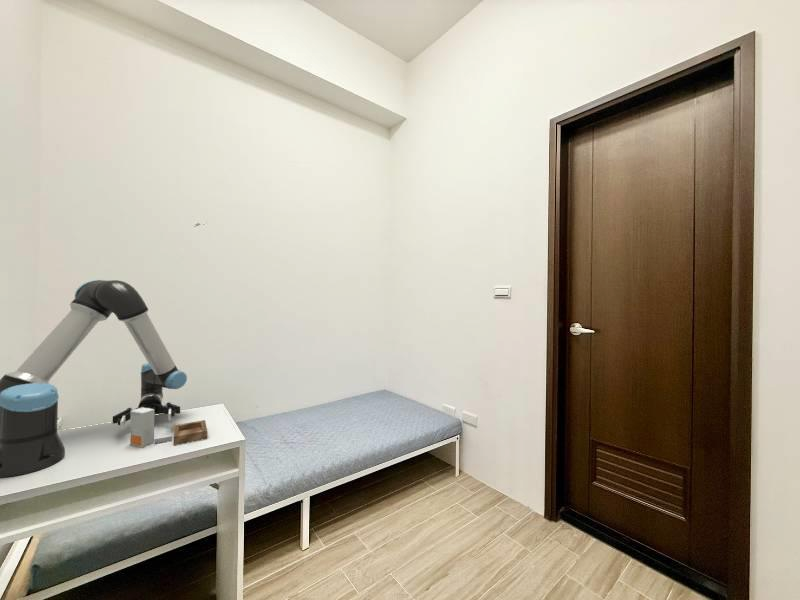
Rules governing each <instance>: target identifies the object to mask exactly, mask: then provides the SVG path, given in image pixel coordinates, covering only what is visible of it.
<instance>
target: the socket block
mask: <svg viewBox="0 0 800 600" xmlns="http://www.w3.org/2000/svg"><path fill="white" fill-rule="evenodd" d="M206 438H207V439H208V429H207V423H206V419H203V420H197V421H191V422H186V423H180V424H174V426H173V440H172V442H173V445H174V446H177V445H176V444H179V445H183V444H182V443H184V444H188V443H187V442H189V443H193V442H192V441H194V442H198V441H197V440H199V441H202V440H201V439H204V440H207V439H206Z"/></svg>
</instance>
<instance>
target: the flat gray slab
mask: <svg viewBox="0 0 800 600" xmlns="http://www.w3.org/2000/svg"><path fill="white" fill-rule="evenodd" d="M167 441H169V442H173V436H171V435H170V436H165V437H160V438H154V443H153V444H154V445H159V444H162V443H163V442H164V443H168V442H167ZM158 443H159V444H158Z"/></svg>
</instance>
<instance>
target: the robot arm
mask: <svg viewBox="0 0 800 600" xmlns="http://www.w3.org/2000/svg"><path fill="white" fill-rule="evenodd" d="M146 304H147V303H146V302H145V301H144V299H143V298H142V296H141V295H140V293H139V291H137V290H136V289H135V288H134V287H133V285H131V284H129V283H128V282H125V281H122V280H117V279H116V280H115V279H113V280H106V279H105V280H103V279H98V280H97V279H96V280H95V279H94V280H91V281H88V282H85V283H83V284H81V285H79V287H78V288H77V289H76V290H75V294H74V299H73V300H72V301H71V302H70V304H69V305H70V311H69V312H68V313H67V314H66V315H65V317H63V319H62V320H60V321H59V323H58V325H56V326H55V328H54V329H52V330H51V332H49V334H48V335H47V336H46V338H44V340H43V341H41V343H39V345H38V346H37V347H36V349H34V350H33V352H32V353H31V354H30V355H29V356H28V357H27V359H26V360H25V361H24V362H23V363H22V364H21V365H20V366H19V367H18V368H17V369H16V370H15V371H12V372H8V373H5V374H4V375H3V376H2V377H1V378H0V478H8V477H9V478H10V477H17V476H20V475H26V474H30V473H33V472H36V471H39V470H43V469H45V468H48V467H51V466H52V465H55V464H57V463H59V462H60V461H62V460H63V459H64V458H65V456H66V447H65V446H64V444H63V442H62V440H61V438H60V435H59V433H58V413H59V412H58V411H59V408H58V406H59V394H58V388H57V387H56V386H55V385H53V384H51V383H49V381H50V380H51V379H52V378H53V377H54V375H55V374H56V373H57V371H59V369H60V368H61V367H62V366H63V365H64V364H65V362H66V361H67V360H68V359H69V357H70V356H71V355H72V353H74V352H75V350H76V349H77V348H78V347H79V346H80V344H81V343H82V342H83V341H84V340H85V339H86V337H87V336H88V335H89V334H90V333H91V331H92V330H93V329H94V328H95V326H96V325H97V324H98V323H99V322H101V321H102V322H103V321H106V320H108V318H109V317H110V316H111V315H112V314H113V315H115V317H117V320H118V321H121V322H122V323H124V325H125V326H126V328H127V329H128V332H129V333H130V334H131V336H132V338H133V340H134V341H135V343H136V344H137V346H138V348H139V350H140V352H141V353H142V355H143V356H144V358H145V360H146V361H147V362H146V363H143V364H142V365H141V368H140V369H141V370H140V383H141V384H140V399H139V400H140V401H139V403H138V407H136V408H134V409H133V408H132V407H128V408H126V409H125V410H123V411H120V412H119V413H117V414H115V415H113V416H112V424H113V425H115V424H117V425H118V426H119V430H124V427H125V425H126V422H127V421H130V413H131V411H132V410H135V409H139V408H142V407H143V408H150V409H154V410H155V411H154V416H156V415H162V414H163V415H168V417H167V418H168V422H171V421H172V417H175V414H178V415H179V414H181V406H180V405H176V404H173V403H171V402H167V403H165V404H162V403H163V398H164V392H163V389H169V390H179V389H181V388H182V387H184V386H185V384H186V383H187V381H188V380H187V379H188V377H187V374H186V373H185V372H184V371H181V370H180V369H178V367H177V366H176V364H175V362H174V360H173V358H172V357H171V355H170V352H169V351H168V349H167V347H166V346H165V344H164V341H163V340H162V338H161V336H160V334H159V333H158V331H157V329H156V327H155V325H154V323H153V322H152V320H151V318H150V316H149V314H148V312H149V308H148V305H146Z"/></svg>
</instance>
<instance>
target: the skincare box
mask: <svg viewBox="0 0 800 600" xmlns="http://www.w3.org/2000/svg"><path fill="white" fill-rule="evenodd" d="M134 409H135V410H133V409H132V411H131V413H130V420H129V421H130V424H129V425H130V427H129V429H130V430H129V433H130V434H129V445H130V446H134V447H139V448H142V449H144V447H147V446H149V445H152V444H154V443H155V415H154V411H155V410H154V409H150V408H143V407H142V408H139V409H136V408H134Z"/></svg>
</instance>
